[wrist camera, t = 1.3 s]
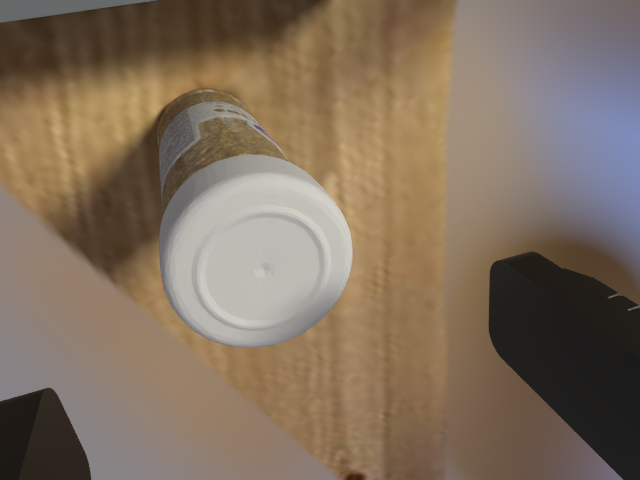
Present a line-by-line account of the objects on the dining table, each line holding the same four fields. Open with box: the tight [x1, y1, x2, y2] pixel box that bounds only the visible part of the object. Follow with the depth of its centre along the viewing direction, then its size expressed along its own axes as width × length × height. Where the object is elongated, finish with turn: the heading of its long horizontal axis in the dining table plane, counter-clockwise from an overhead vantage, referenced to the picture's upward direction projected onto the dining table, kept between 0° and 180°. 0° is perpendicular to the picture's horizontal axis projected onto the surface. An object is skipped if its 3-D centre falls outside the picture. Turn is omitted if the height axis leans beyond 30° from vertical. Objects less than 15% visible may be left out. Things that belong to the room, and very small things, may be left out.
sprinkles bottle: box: [157, 88, 352, 348], centre depth 17 cm, size 5×5×14 cm
